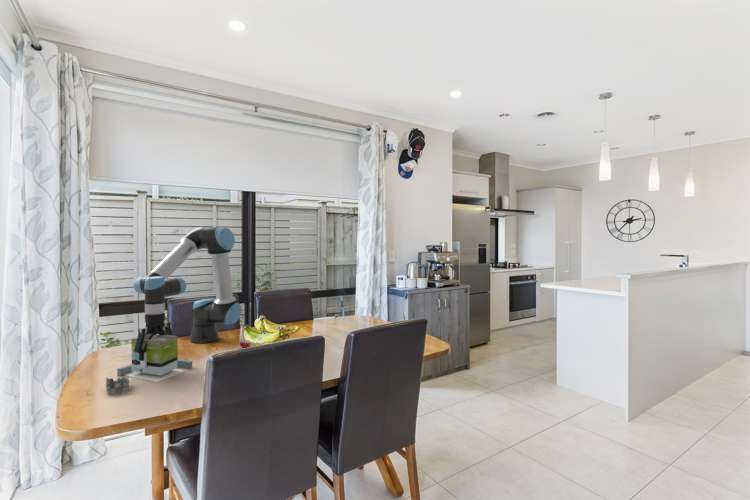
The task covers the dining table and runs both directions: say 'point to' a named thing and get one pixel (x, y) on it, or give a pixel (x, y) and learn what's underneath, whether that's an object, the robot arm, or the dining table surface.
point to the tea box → (157, 355)
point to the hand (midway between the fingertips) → (155, 363)
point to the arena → (152, 377)
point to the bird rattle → (244, 345)
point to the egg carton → (117, 385)
